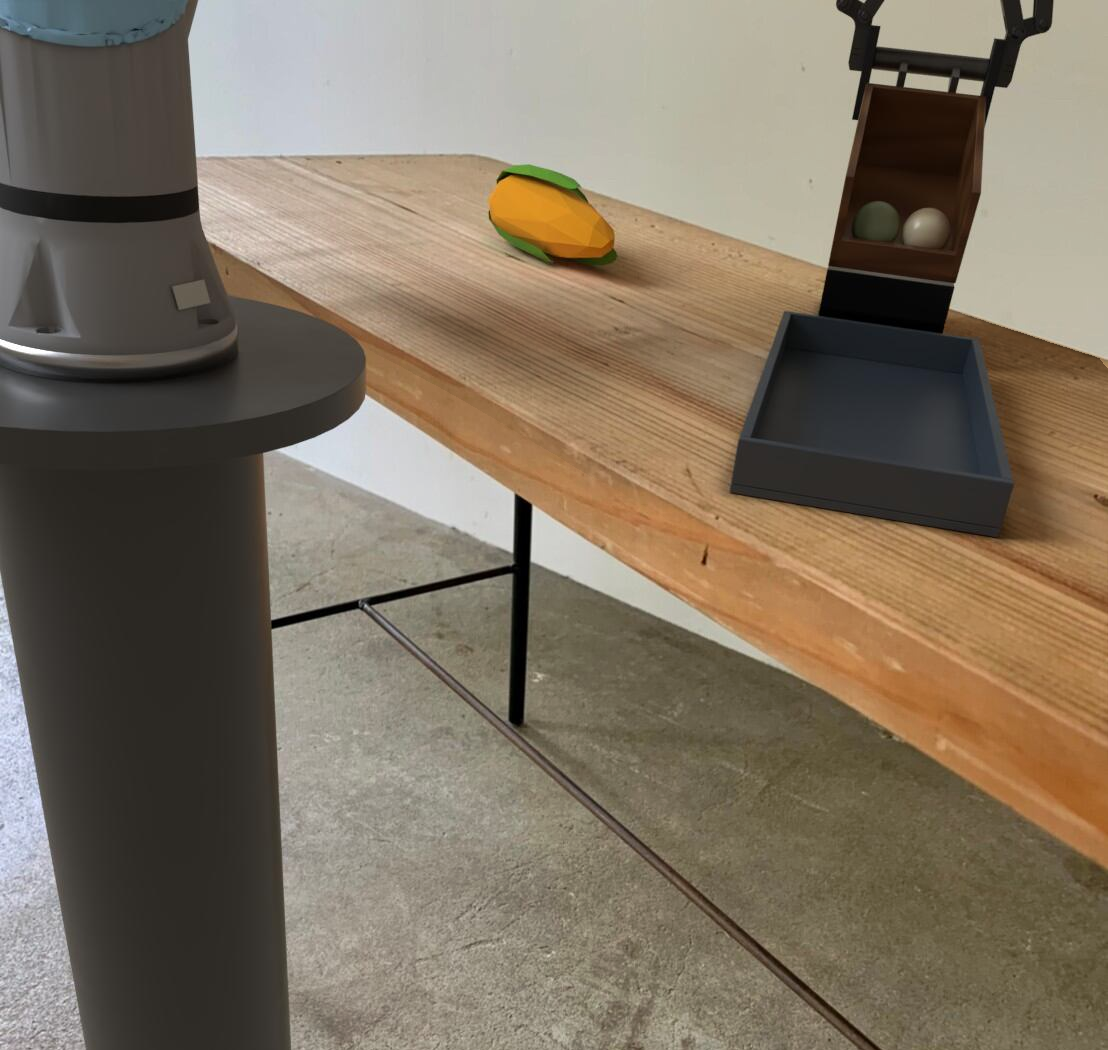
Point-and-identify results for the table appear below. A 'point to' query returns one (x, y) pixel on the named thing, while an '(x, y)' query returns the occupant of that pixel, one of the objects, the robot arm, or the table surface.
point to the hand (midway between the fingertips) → (916, 125)
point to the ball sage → (876, 222)
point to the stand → (886, 299)
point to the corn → (549, 216)
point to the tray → (876, 426)
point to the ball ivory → (926, 229)
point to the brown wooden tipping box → (914, 163)
